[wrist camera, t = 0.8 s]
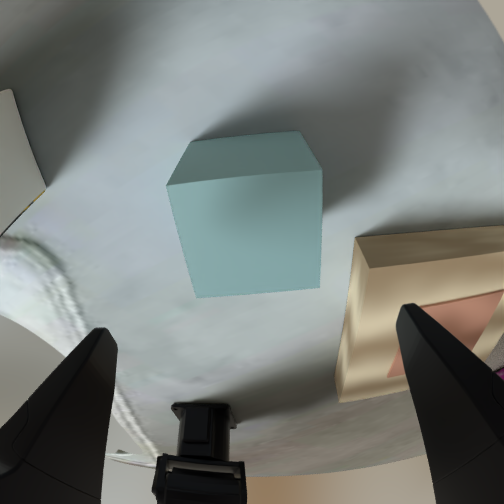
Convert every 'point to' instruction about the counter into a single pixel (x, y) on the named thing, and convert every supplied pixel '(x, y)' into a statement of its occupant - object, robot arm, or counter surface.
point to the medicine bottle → (15, 165)
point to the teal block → (249, 214)
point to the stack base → (418, 301)
